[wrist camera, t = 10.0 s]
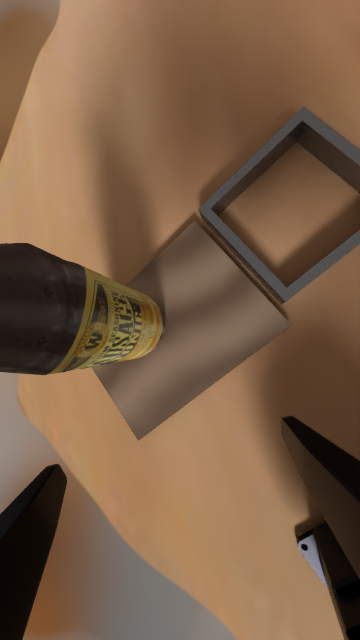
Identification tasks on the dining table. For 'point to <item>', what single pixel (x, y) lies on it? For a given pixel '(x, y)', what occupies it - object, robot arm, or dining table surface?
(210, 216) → the grey square frame
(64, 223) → the dining table surface
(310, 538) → the robot arm
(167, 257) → the brown flat slab
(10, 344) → the sauce bottle
